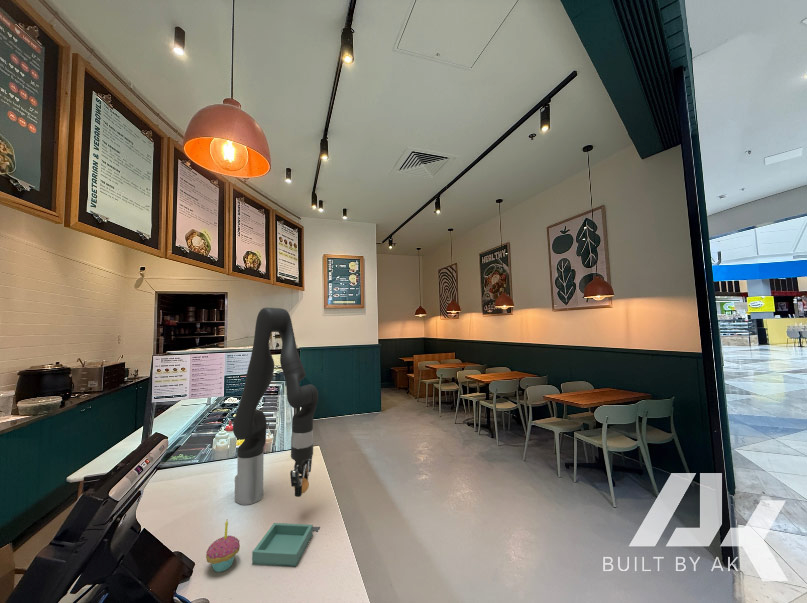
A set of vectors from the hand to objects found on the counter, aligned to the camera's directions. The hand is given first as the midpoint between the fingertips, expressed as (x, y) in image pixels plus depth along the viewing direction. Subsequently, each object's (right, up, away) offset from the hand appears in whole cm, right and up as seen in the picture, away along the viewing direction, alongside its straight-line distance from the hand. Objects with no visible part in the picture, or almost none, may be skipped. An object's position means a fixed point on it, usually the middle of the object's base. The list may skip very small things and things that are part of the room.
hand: (301, 491), depth 115 cm
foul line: (+1, -9, -6) cm, 11 cm away
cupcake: (-15, -9, -22) cm, 28 cm away
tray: (0, -8, -16) cm, 18 cm away
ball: (0, +2, 0) cm, 2 cm away
